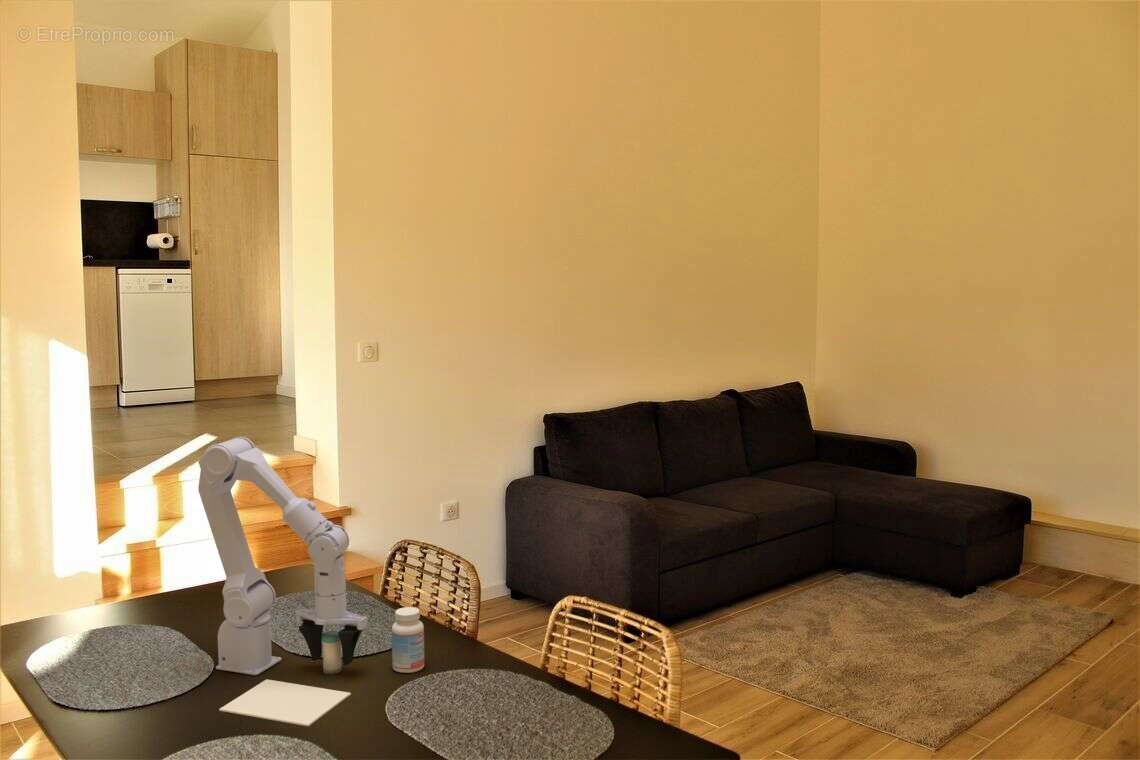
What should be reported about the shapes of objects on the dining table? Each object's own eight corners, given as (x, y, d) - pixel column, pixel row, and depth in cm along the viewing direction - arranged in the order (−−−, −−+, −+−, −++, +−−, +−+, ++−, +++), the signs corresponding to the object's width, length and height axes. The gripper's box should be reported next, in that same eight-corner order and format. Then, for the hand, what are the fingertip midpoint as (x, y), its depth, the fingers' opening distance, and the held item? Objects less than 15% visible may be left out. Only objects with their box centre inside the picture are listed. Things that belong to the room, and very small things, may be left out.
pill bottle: (418, 675, 178) (416, 617, 177) (387, 672, 180) (386, 615, 178) (429, 662, 184) (428, 606, 183) (399, 660, 185) (398, 604, 184)
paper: (219, 710, 164) (219, 709, 164) (266, 680, 176) (266, 679, 176) (308, 726, 158) (308, 724, 158) (350, 694, 170) (350, 692, 170)
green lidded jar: (319, 673, 179) (318, 636, 179) (329, 666, 183) (328, 629, 182) (335, 675, 178) (334, 638, 178) (345, 668, 182) (344, 632, 181)
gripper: (284, 594, 178) (287, 663, 179) (352, 602, 173) (354, 674, 174) (307, 582, 184) (309, 650, 186) (372, 590, 179) (374, 659, 181)
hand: (332, 661), depth 180 cm, fingers open, 6 cm apart
